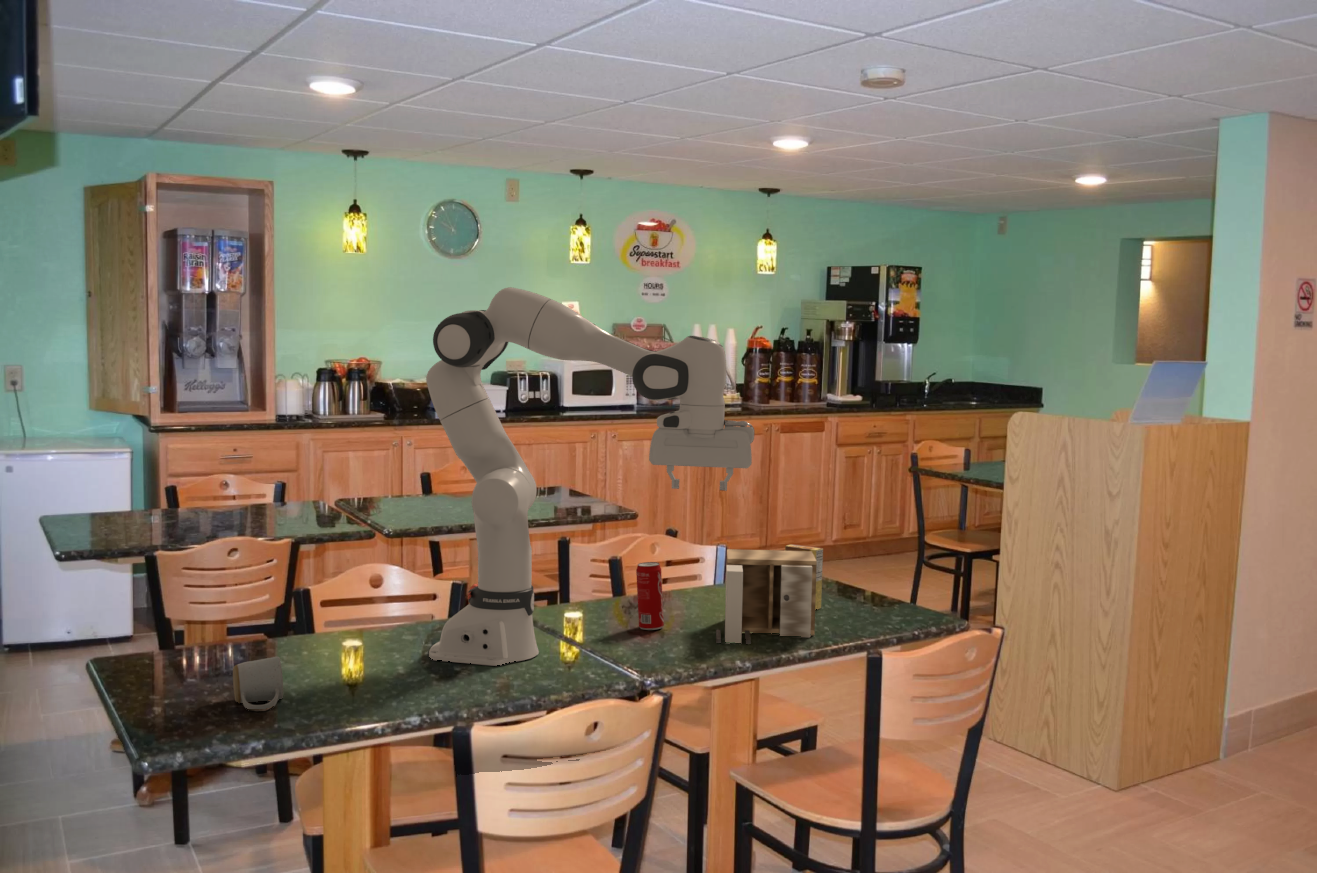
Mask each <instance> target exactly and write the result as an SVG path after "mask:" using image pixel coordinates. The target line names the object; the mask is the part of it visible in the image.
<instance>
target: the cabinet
mask: <svg viewBox="0 0 1317 873" xmlns="http://www.w3.org/2000/svg"><path fill="white" fill-rule="evenodd" d="M725 565H742V568H743V594H742V632H745V633H744V638H745V639H746V640H745V645H746V644H751V643H752V642H751V633H750V632H753V633H771V634H770V635H773V634H772V633H780V635H779V637H780V636H801V637H800V638H811V636H815V630H816V629H815V626H816V623H815V622H816V610H815V601H816V567H817V561H816V559H815V557H814V555H813V553H812V551H785V550H776V549H775V550H774V549H773V550H771V549H769V550H768V549H742V548H741V549H739V548H738V549H735V548H734V549H733V548H732V549H731V548H730V549H729V548H728V549H726V564H725ZM721 632H722V631H721V629H715V642H716V643H721V644H722V634H721ZM810 634H811V635H810ZM716 643H715V644H716Z"/></svg>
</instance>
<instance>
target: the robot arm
mask: <svg viewBox="0 0 1317 873" xmlns="http://www.w3.org/2000/svg"><path fill="white" fill-rule="evenodd" d="M432 336H433V337H432V345H433V349H434V351H435V353H436V355H437V356H438V358H439V359H441V360H439V361H437V362H436V363H435V364H434V365H432V366H431V367H430V368H429V370H428V371H427V373H426V379H425V380H426V385H427V390H428V392H429V397H430V399H431V403H432V404H433V408H434V411H435V413H436V415H437V417H438V420H439V421H440V424H441V425H442V428H443V430H444V432H445V434H446V437H447V438H448V440H449V442H450V444H451V447H452V448H453V450H454V454H456V456H457V458H458V459H459V460H460V461H461V462H462V463H463V464H464V466H465V467H466V469H467V470H468V471H469V472H468V473H470V474H471V476H472V477H473V479H474V481H475V483H476V484H475V486H474V487H473V488H474V489H473V490H472V494H471V508H472V510H473V522H474V529H475V538H476V544H477V583H474V584H472V585H471V586H470V587H469V590H468V592H467V601H468V604H467V605H466V606H465V607H463V608H462V609H461V610H459V611H458V612H457V613H455V614H454V615H453V616H451V617H450V618H449V619H448V620H447V621H446V622H445V623H444V626H442V630H441V632H440V633H441V635H440V638H439V641H437V642H436V643H435V644H433V645H432V646H431V647H430V649H429V652H428V657H430V658H431V659H430V658H429V659H430V660H432V659H433V660H432V661H437V660H442V661H441V662H448V661H450V663H451V662H452V663H461V664H470V663H471V665H482V666H495V667H498V666H497V665H500V666H503V665H502V664H504V665H506V664H505V663H507V664H510V663H515V662H514V661H516V662H521V661H525V660H530V659H533V658H534V657H536V656H537V655H539V653H540V651H539V648H538V645H537V644H538V643H537V639H536V635H535V628H534V619H533V613H534V609H535V592H534V586H533V584H532V575H533V573H532V572H533V571H532V569H533V568H532V565H533V564H532V562H533V561H532V560H533V558H532V557H533V554H532V553H533V551H532V550H533V549H532V545H531V539H530V538H531V537H530V531H529V519H528V516H529V515H528V514H529V513H528V511H529V510H530V508H531V507H533V505H534V503H535V501H536V498H537V483H536V480H535V477H534V476H533V475H532V473H531V472H530V470H529V468H528V467H527V464H526V463H525V460H523V457H521V454H520V453H519V452H518V450H517V447H516V446H515V445H514V443H513V442H512V440H511V439H510V437H509V436H508V434H507V432H506V429H504V426H503V424H502V422H501V420H500V419H499V416H498V414H497V411H496V410H495V408H494V406H493V403H492V401H491V400H490V399H491V398H490V397H489V394H488V393H487V391H486V389H485V386H484V384H483V382H482V378H481V372H482V370H483V371H484V370H486V369H488V368H489V367H490V366H491V365H492V364H493V362H496V360H497V359H498V358H499V357H500V356H501V355H503V353H504V352H505V350H506V349H507V347H508V345H509V343H513V344H516V345H518V346H520V347H523V348H525V349H527V350H529V351H531V352H534V353H537V354H539V355H542V356H545V357H548V358H553V359H556V360H562V361H584V362H591V363H592V362H593V363H597V364H601V365H603V366H607V367H608V368H611V369H613V370H616V371H618V372H621V373H623V374H625V375H628V376H631V378H632V384H633V386H634V388H635V390H636V392H637V393H638V394H639V395H640V396H642V397H643V398H644V399H645V398H646V399H647V400H649V401H653V402H660V401H661V402H662V401H675V400H677V399H678V400H679V409H678V410H676V411H670V412H668V413H665V414H661V415H659V416H658V417H657V418H656V426H657V427H658V428H656V430H654V432H653V434H652V436H651V440H650V447H649V452H648V453H649V454H648V461H649V462H650V464H652V465H653V466H666V473H667V475H668V476H669V478H670V480H671V489H672V490H673V489H674V490H676V489H678V490H679V489H680V478H676V477H675V475H674V473H673V472H674V470H675V467H695V468H696V467H698V468H699V467H701V468H725V473H726V474H727V475H726V476H725V478H724V480H719V491H725V492H727V490H728V482H729V481H730V480H731V477H732V476H733V475H734V469H749V468H750V467H751V466H752V463H753V462H752V456H753V455H752V447H751V446H752V445H751V444H752V443H753V442H754V440H755V427H754V426H753V425H752V424H751V423H748V421H747V420H746V421H745V420H737V421H736V420H729V419H728V420H725V410H726V409H725V408H726V406H725V405H726V404H725V403H726V402H725V397H724V392H725V386H726V382H727V364H726V363H727V360H726V352H725V348H724V347H723V345H722V344H721V343H720V341H718V340H716V339H712V338H707V337H703V336H698V335H689V336H688V335H687V336H686V337H685V338H683V339H682V340H681V341H679V342H677V343H675V344H673V345H672V346H668V347H667V348H664V349H661V350H651V349H648V348H644V347H642V346H640V345H637V344H634V343H632V342H630V341H628V340H625V339H623V338H620V337H617V336H616V335H614V334H611V333H609V332H607V331H606V330H604V329H602V328H601V327H599V326H597V325H596V324H595V323H593V322H591V321H590V320H588V319H587V318H586V317H584V316H582V315H581V314H580V313H578V312H577V311H575V310H574V309H572V308H570V307H568V306H566V305H565V304H562V303H561V302H558V301H557V300H554V299H552V298H549V297H547V296H544V295H541V294H539V293H535V292H533V291H529V290H525V289H522V288H516V287H511V286H510V287H505V288H502V289H501V290H499V291H498V292H496V293H495V295H494V296H493V297H492V299H491V301H490V304H489V305H488V308H487V309H480V310H476V309H475V310H465V311H462V312H457V313H455V314H451V315H449V316H447V317H445V318H444V319H442V320H441V321H440V323H438V324H437V326H436V328H435V330H434V332H433V335H432ZM509 662H510V663H509Z"/></svg>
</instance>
